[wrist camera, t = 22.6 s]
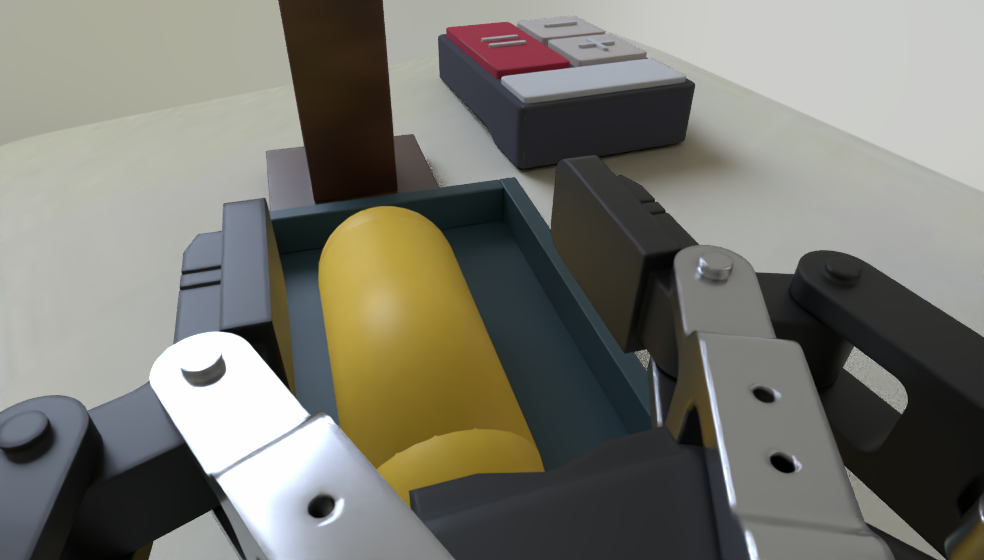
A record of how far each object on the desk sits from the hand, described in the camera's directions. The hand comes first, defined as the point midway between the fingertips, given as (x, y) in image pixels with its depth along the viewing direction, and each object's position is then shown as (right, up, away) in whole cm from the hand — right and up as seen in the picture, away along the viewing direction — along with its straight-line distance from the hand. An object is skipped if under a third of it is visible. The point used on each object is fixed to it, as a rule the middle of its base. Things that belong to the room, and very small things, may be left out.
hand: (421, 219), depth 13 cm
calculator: (+5, +10, +29) cm, 32 cm away
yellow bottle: (0, -8, +5) cm, 9 cm away
